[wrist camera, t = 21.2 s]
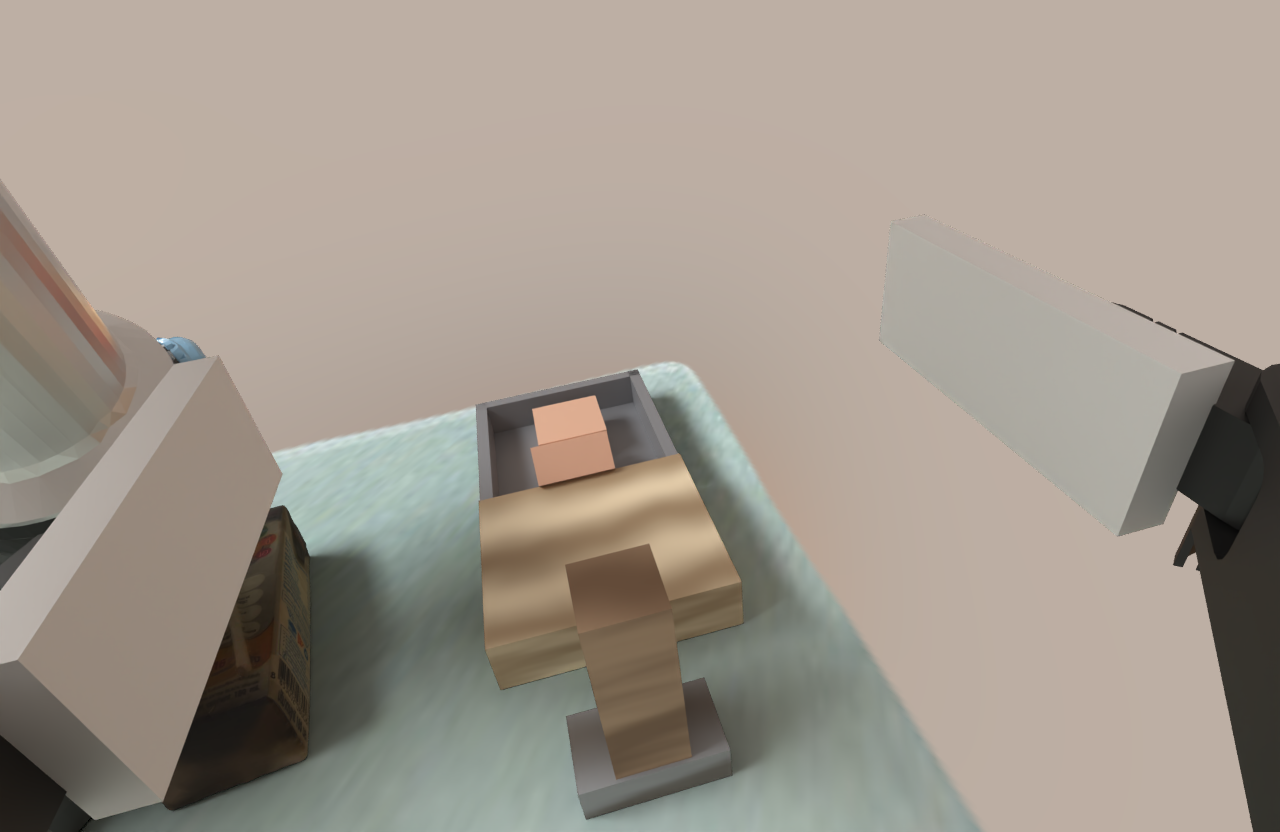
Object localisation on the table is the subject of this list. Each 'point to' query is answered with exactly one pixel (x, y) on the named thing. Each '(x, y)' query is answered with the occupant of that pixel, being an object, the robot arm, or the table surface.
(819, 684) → the table surface
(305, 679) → the beverage carton
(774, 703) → the table surface
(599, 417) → the tile rear
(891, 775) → the table surface
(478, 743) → the table surface
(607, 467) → the tile front
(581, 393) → the tray
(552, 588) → the board
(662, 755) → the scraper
